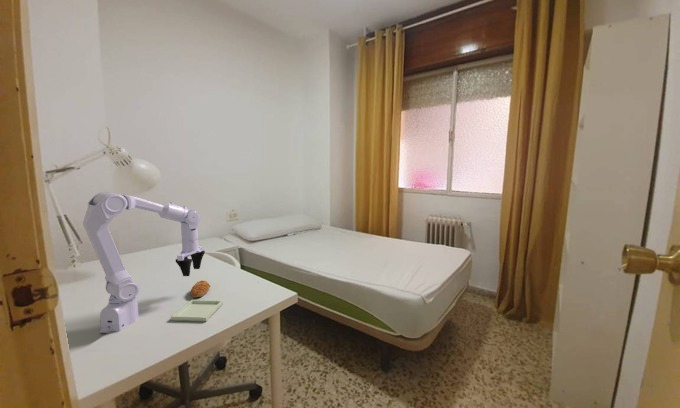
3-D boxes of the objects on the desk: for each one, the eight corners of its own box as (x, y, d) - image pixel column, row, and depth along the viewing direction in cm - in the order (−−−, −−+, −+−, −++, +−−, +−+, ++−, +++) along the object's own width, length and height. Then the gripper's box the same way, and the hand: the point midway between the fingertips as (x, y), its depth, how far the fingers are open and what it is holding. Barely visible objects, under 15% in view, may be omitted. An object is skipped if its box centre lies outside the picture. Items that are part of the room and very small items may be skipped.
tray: (206, 321, 88) (206, 317, 88) (171, 320, 88) (171, 316, 88) (223, 304, 100) (222, 300, 100) (192, 303, 100) (191, 299, 100)
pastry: (206, 298, 104) (205, 289, 104) (187, 299, 102) (186, 290, 102) (211, 287, 113) (210, 279, 113) (193, 288, 111) (193, 280, 111)
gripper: (189, 244, 97) (191, 279, 98) (209, 235, 111) (210, 266, 113) (170, 244, 97) (172, 279, 98) (192, 234, 111) (194, 265, 113)
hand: (191, 272), depth 105 cm, fingers open, 7 cm apart
